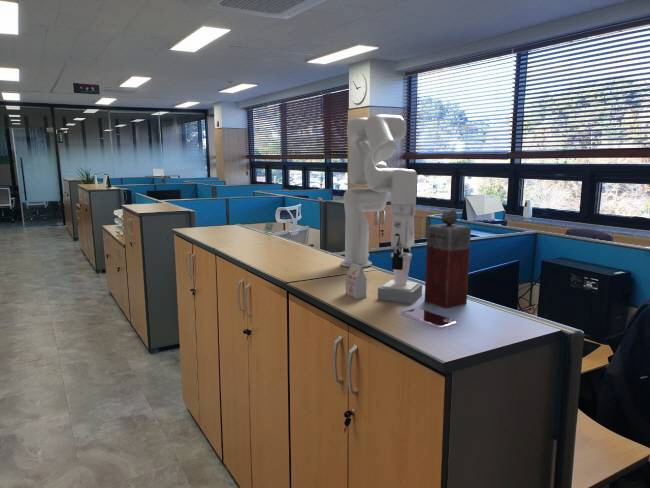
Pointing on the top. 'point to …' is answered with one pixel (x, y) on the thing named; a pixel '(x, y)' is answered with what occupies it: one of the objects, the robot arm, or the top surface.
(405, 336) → the top surface
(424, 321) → the mobile phone
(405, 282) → the smoothie
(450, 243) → the red square canister
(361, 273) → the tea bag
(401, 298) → the plinth
